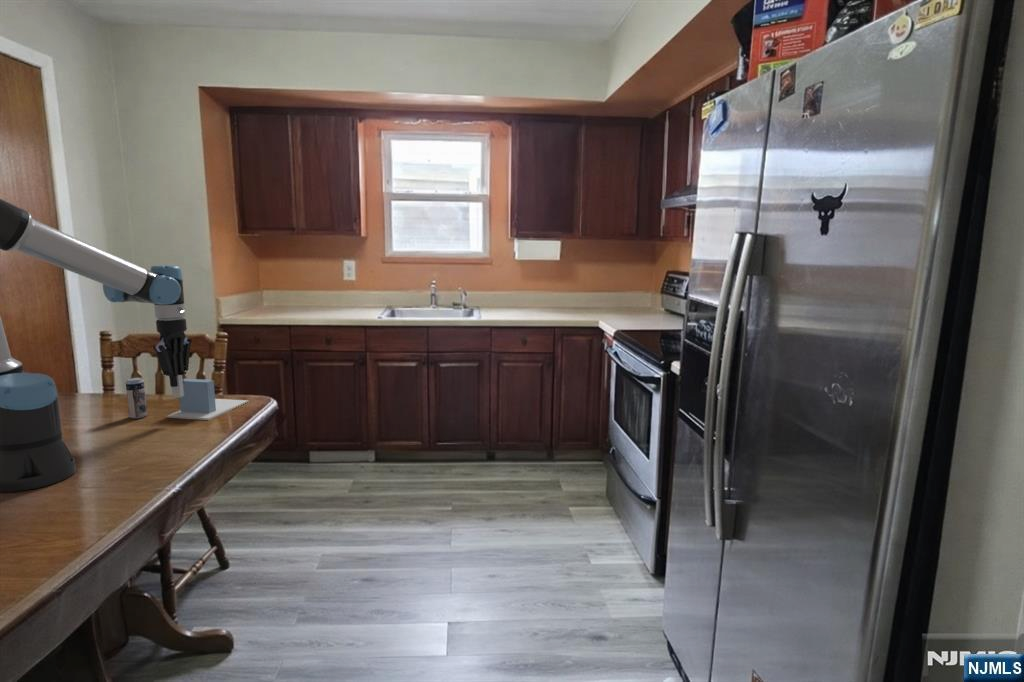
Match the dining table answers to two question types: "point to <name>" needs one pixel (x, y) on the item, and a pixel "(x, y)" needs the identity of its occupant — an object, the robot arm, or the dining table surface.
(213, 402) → the block
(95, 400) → the dining table surface
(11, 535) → the dining table surface
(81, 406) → the dining table surface
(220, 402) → the mat
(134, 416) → the beer can
